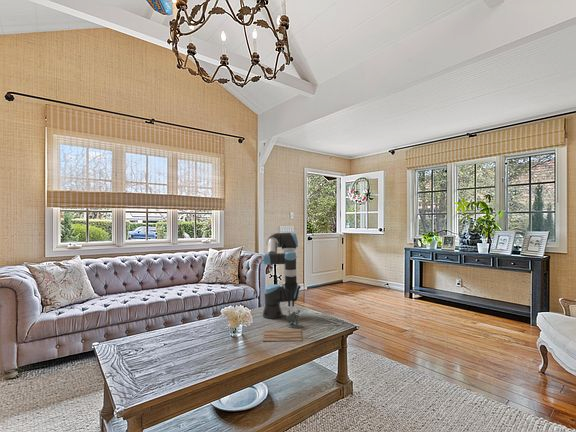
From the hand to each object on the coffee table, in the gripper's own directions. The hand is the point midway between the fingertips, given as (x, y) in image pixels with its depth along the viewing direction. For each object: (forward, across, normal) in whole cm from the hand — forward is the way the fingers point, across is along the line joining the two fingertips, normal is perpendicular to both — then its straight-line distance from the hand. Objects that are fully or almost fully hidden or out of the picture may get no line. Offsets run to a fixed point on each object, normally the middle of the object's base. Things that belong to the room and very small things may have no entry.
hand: (291, 311), depth 204 cm
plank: (+14, -6, -1) cm, 15 cm away
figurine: (+15, +2, +12) cm, 19 cm away
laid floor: (+14, -6, -11) cm, 19 cm away
